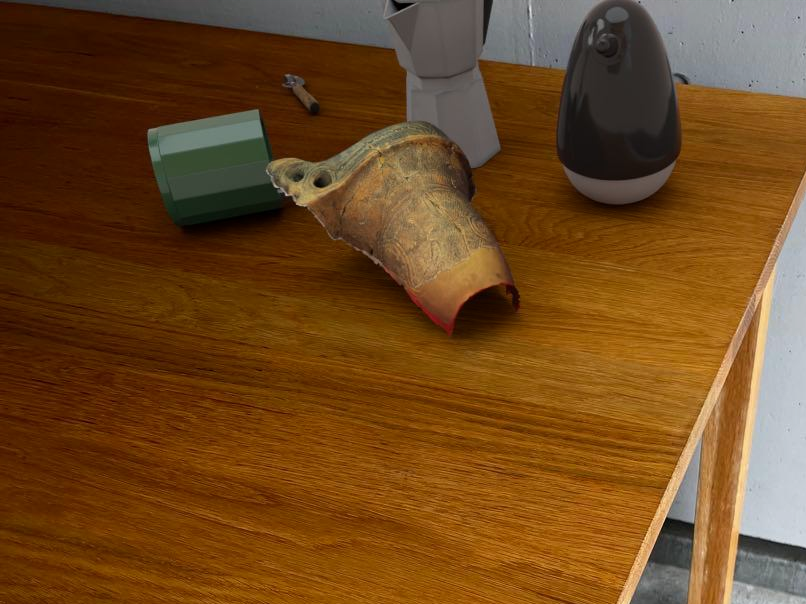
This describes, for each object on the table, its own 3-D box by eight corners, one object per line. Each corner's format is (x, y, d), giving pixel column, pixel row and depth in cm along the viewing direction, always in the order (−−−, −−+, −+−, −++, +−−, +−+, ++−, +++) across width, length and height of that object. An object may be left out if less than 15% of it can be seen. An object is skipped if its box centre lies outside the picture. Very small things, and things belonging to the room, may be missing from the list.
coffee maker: (453, 192, 90) (421, -33, 77) (373, 171, 93) (329, -48, 80) (544, 116, 98) (530, -99, 85) (467, 99, 102) (441, -111, 88)
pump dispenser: (544, 216, 86) (530, 26, 75) (575, 154, 93) (567, -30, 82) (667, 227, 84) (672, 33, 73) (690, 162, 91) (697, -26, 79)
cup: (146, 157, 82) (262, 136, 83) (147, 111, 87) (256, 92, 88) (179, 244, 87) (286, 224, 88) (178, 197, 93) (279, 178, 94)
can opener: (322, 112, 101) (319, 101, 101) (298, 118, 101) (295, 107, 100) (300, 77, 107) (297, 65, 106) (278, 82, 107) (275, 71, 106)
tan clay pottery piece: (396, 272, 66) (274, 88, 73) (352, 390, 75) (246, 217, 81) (597, 248, 77) (476, 88, 83) (539, 355, 85) (433, 202, 91)
